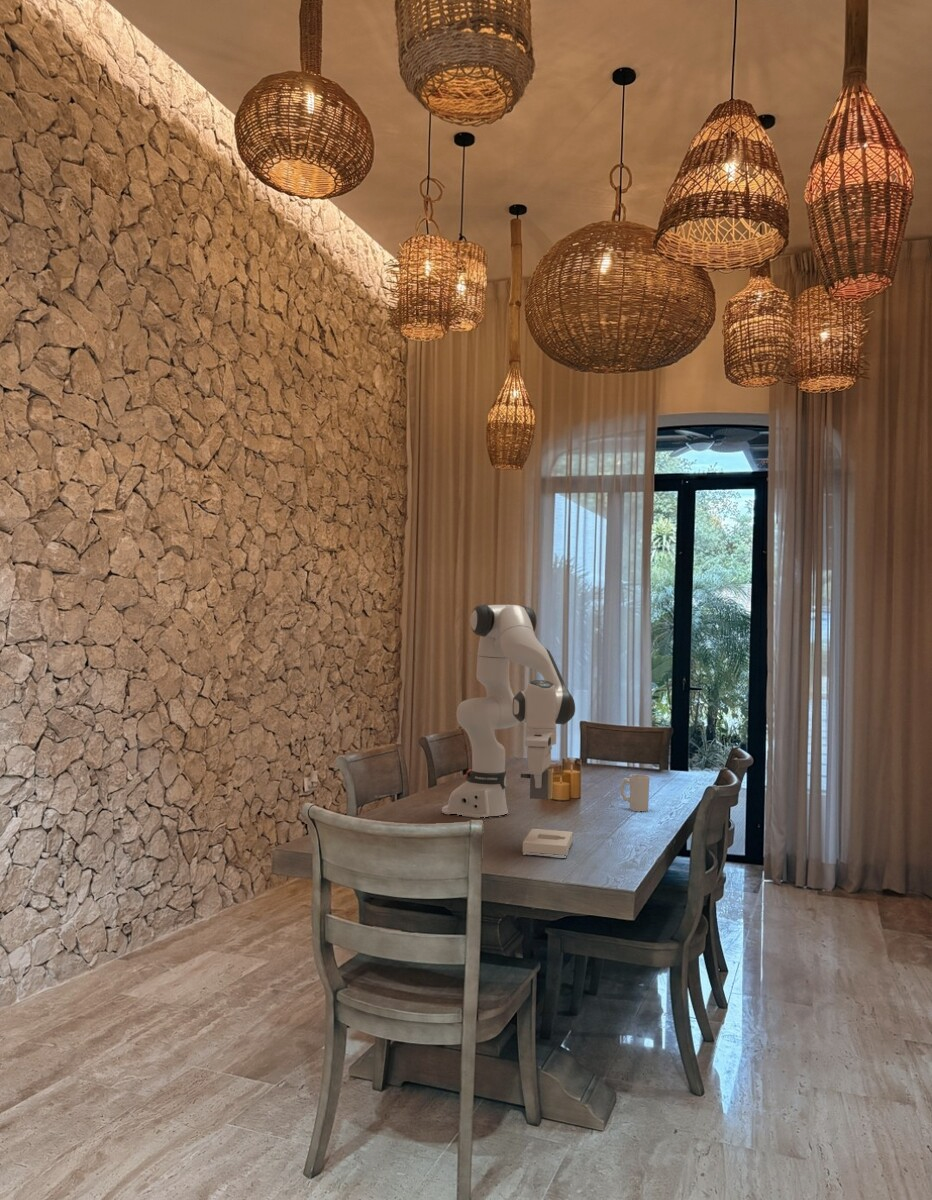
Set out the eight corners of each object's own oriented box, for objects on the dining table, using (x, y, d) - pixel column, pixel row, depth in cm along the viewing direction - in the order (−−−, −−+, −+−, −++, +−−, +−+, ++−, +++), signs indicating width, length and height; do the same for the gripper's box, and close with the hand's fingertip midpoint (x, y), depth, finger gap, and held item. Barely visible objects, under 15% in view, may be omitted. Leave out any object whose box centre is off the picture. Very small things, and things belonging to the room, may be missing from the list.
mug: (650, 809, 319) (650, 775, 320) (647, 813, 313) (647, 778, 314) (621, 806, 323) (622, 773, 323) (618, 810, 317) (618, 775, 317)
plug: (519, 797, 258) (519, 769, 258) (521, 795, 261) (522, 767, 262) (550, 799, 255) (551, 771, 256) (552, 797, 259) (553, 769, 260)
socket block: (522, 855, 250) (522, 842, 250) (531, 840, 268) (532, 828, 268) (565, 858, 247) (566, 846, 247) (572, 843, 265) (572, 831, 265)
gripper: (535, 733, 270) (534, 780, 269) (524, 740, 250) (523, 791, 249) (556, 734, 268) (555, 781, 268) (546, 741, 248) (546, 792, 248)
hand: (539, 786), depth 258 cm, fingers closed on plug, 4 cm apart
